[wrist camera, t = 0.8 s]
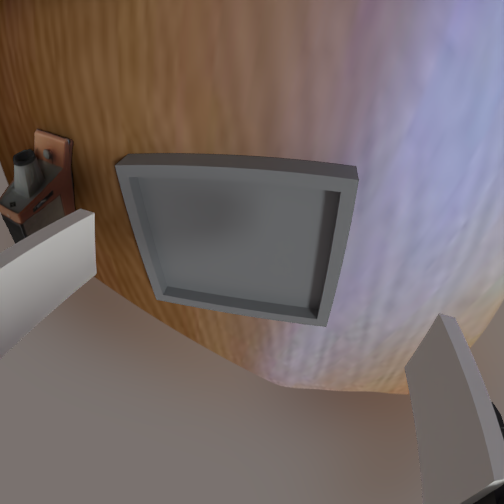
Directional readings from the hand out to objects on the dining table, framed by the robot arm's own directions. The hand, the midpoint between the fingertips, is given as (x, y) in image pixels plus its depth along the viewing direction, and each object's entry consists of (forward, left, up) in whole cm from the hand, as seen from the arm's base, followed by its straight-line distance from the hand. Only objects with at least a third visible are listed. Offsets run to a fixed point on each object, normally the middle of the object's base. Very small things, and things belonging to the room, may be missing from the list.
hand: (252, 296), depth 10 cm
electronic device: (+2, -22, -13) cm, 25 cm away
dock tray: (+8, -4, -13) cm, 16 cm away
